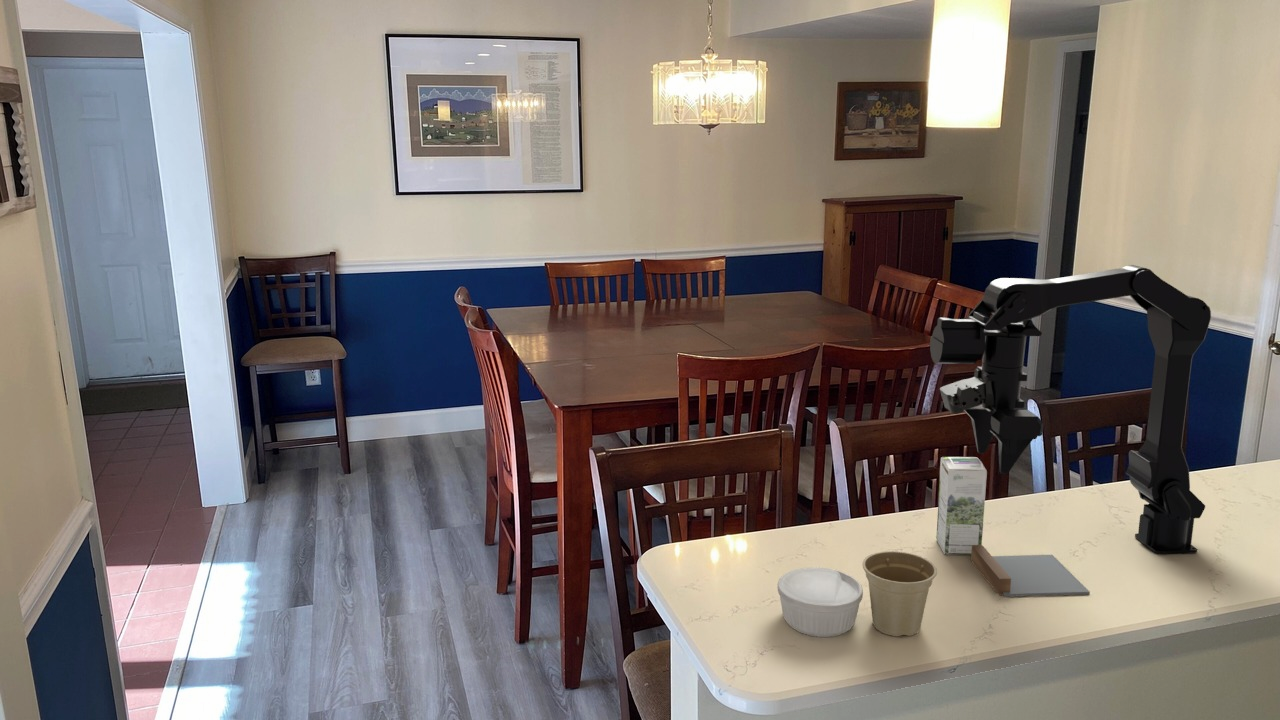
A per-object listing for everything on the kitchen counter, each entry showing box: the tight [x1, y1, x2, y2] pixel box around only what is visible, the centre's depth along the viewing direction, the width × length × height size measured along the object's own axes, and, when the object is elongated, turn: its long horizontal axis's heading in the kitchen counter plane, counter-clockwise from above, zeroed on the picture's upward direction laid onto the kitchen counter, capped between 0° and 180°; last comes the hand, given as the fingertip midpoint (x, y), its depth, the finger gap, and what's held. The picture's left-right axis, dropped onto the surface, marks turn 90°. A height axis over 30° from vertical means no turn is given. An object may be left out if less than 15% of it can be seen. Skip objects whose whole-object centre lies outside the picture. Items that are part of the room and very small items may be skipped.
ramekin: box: [777, 567, 864, 638], centre depth 123 cm, size 11×11×5 cm
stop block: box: [970, 544, 1011, 596], centre depth 134 cm, size 2×11×2 cm, turn 0°
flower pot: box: [862, 550, 938, 637], centre depth 121 cm, size 9×9×9 cm
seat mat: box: [991, 554, 1091, 598], centre depth 134 cm, size 12×12×1 cm
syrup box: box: [935, 456, 988, 556], centre depth 142 cm, size 6×6×14 cm
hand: (992, 462), depth 140 cm, fingers open, 9 cm apart
